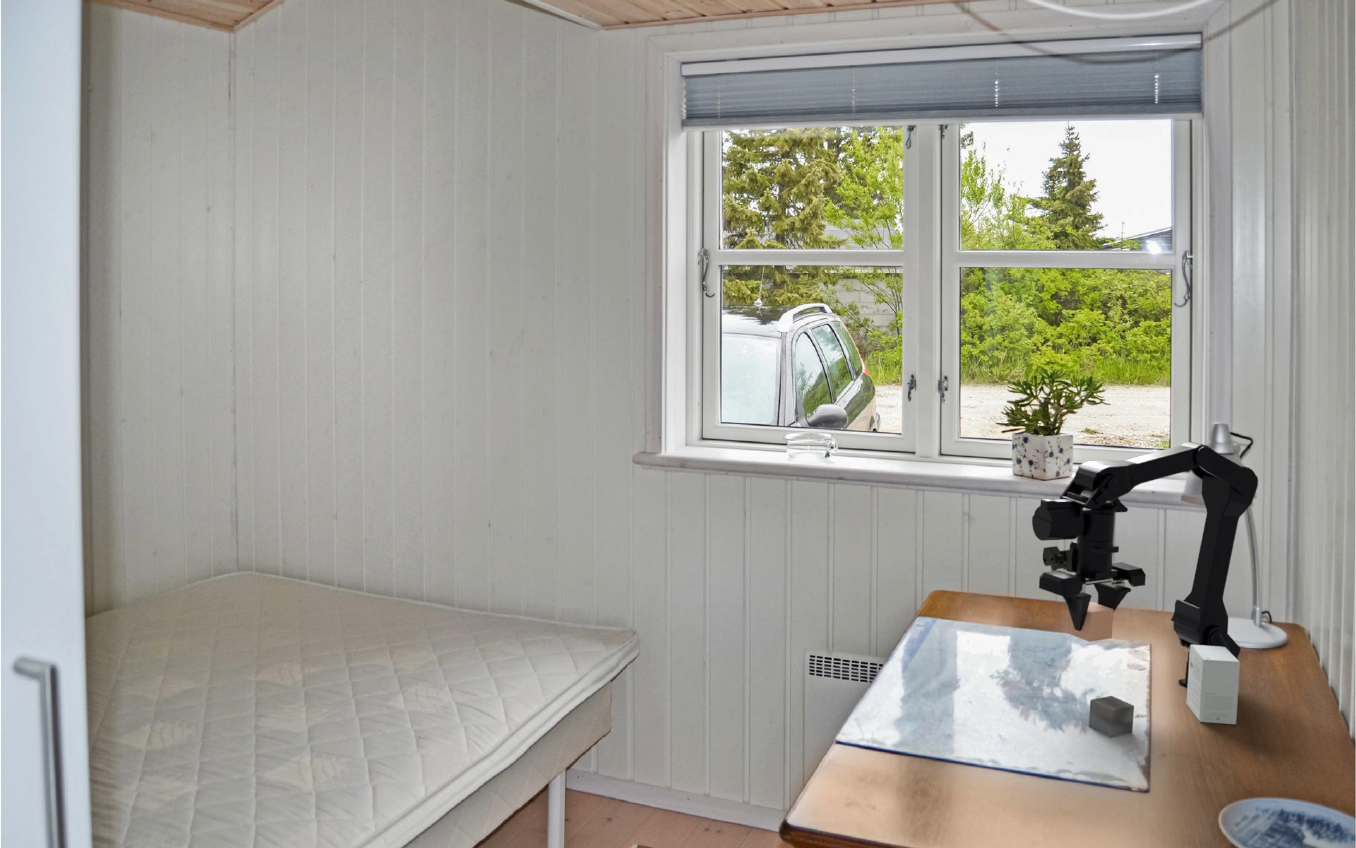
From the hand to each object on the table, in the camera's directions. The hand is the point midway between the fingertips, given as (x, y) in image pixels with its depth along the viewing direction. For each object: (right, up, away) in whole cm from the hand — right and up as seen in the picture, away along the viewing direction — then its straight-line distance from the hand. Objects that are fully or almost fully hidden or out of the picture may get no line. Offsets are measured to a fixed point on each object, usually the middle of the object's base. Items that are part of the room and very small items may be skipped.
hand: (1089, 628), depth 180 cm
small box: (+18, -13, -6) cm, 23 cm away
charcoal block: (-1, -14, -12) cm, 18 cm away
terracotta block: (0, -1, 0) cm, 1 cm away
